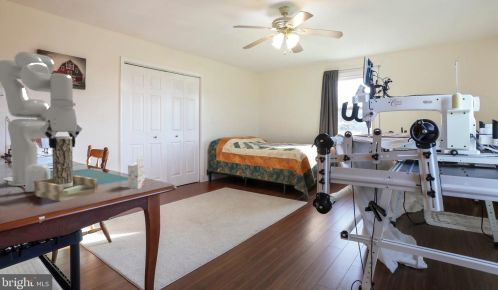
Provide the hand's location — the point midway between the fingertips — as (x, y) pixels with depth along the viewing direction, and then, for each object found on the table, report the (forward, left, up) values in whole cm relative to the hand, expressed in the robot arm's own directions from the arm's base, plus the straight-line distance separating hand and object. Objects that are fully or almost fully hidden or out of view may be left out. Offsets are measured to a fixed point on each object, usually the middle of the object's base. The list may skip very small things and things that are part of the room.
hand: (62, 147), depth 109 cm
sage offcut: (+6, 0, -18) cm, 19 cm away
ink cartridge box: (+14, +26, -21) cm, 36 cm away
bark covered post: (0, 0, -21) cm, 21 cm away
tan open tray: (+3, 0, -21) cm, 21 cm away
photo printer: (-14, -2, -21) cm, 25 cm away
